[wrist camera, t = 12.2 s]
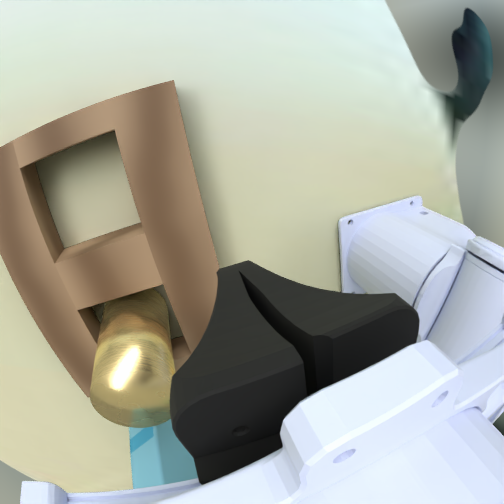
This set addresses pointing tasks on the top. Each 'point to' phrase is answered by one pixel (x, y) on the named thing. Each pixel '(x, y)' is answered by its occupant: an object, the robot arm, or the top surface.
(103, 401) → the brass peg
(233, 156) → the top surface
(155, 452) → the data package
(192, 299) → the jig plate
